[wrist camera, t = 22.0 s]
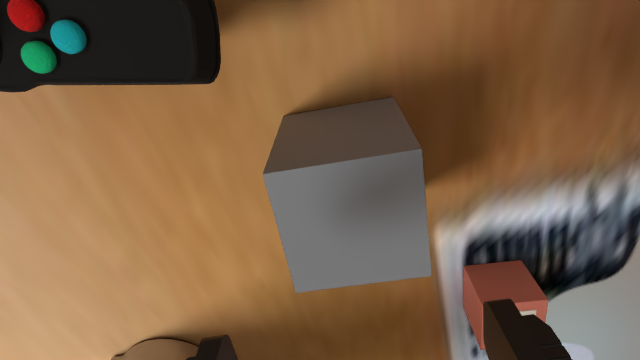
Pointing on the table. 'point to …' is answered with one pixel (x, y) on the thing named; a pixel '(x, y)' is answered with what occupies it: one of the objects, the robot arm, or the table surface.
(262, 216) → the table surface
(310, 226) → the cover
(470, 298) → the cube
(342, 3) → the table surface
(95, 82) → the controller
